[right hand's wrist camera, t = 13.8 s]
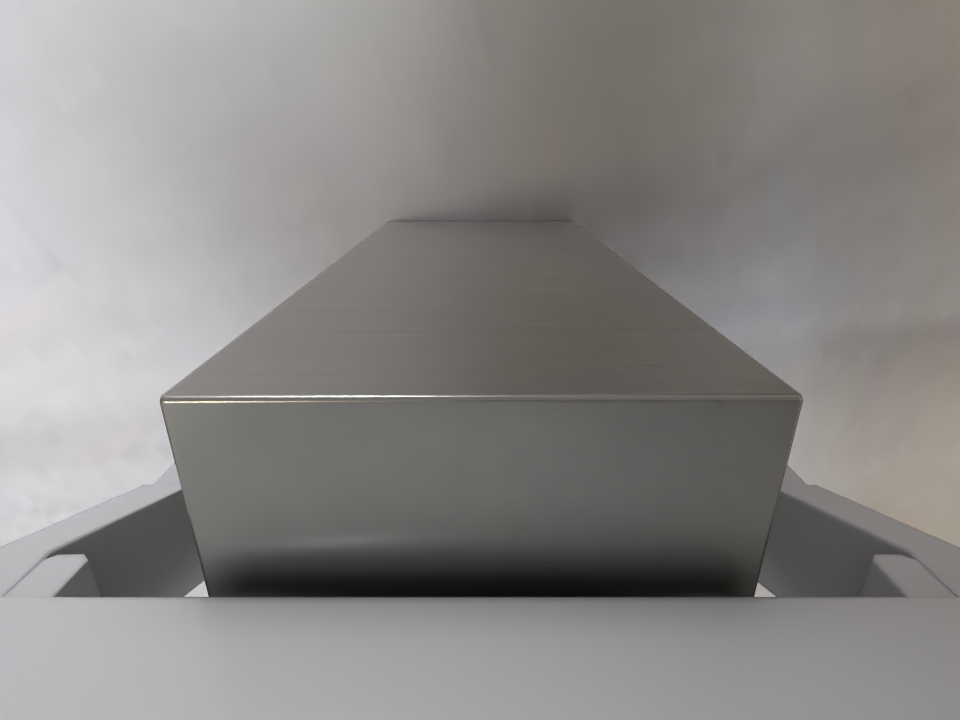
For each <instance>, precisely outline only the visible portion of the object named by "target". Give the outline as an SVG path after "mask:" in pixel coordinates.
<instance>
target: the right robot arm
mask: <svg viewBox="0 0 960 720" xmlns="http://www.w3.org/2000/svg"><path fill="white" fill-rule="evenodd" d="M203 581H204V576H203V572H202V568H201V564H200V560H199V556H198V552H197V548H196V544H195V540H194V536H193V532H192V528H191V524H190V520H189V516H188V512H187V508H186V504H185V500H184V496H183V492H182V488H181V484H180V480H179V476H178V472H177V468H176V465H175V463H174V464H173V465H172V466H171V467H170V468H169V469H168V470H167V471H166V472H165V473H164V474H163V475H162V476H161V477H160V478H159V479H158V480H157V481H156V482H155V483H154V484H153V485H143V486H141V487H138V488H136V489H134V490H131V491H129V492H127V493H124V494H122V495H120V496H118V497H115V498H113V499H111V500H108V501H106V502H104V503H101V504H99V505H97V506H95V507H92V508H90V509H88V510H85V511H83V512H81V513H78V514H76V515H74V516H72V517H69V518H67V519H65V520H62V521H60V522H58V523H55V524H53V525H51V526H49V527H46V528H44V529H42V530H39V531H37V532H35V533H32V534H30V535H28V536H26V537H23V538H21V539H19V540H16V541H14V542H12V543H9V544H7V545H5V546H3V547H0V720H960V548H959V547H957V546H955V545H952V544H950V543H948V542H946V541H943V540H941V539H939V538H936V537H934V536H932V535H929V534H927V533H925V532H923V531H920V530H918V529H916V528H913V527H911V526H909V525H907V524H904V523H902V522H900V521H897V520H895V519H893V518H890V517H888V516H886V515H884V514H881V513H879V512H877V511H874V510H872V509H870V508H868V507H865V506H863V505H861V504H858V503H856V502H854V501H851V500H849V499H847V498H845V497H842V496H840V495H838V494H835V493H833V492H831V491H829V490H826V489H824V488H822V487H819V486H817V485H807V484H806V483H805V482H804V481H803V480H802V479H801V478H800V477H799V476H798V475H797V474H796V473H795V472H794V471H793V470H792V469H791V468H790V467H789V466H788V465H787V466H786V470H785V474H784V478H783V482H782V486H781V490H780V494H779V498H778V502H777V506H776V510H775V514H774V518H773V522H772V526H771V530H770V534H769V538H768V542H767V546H766V550H765V554H764V558H763V562H762V566H761V570H760V574H759V578H758V583H760V584H761V585H762V586H764V587H765V588H766V589H767V590H769V591H770V592H771V593H772V594H774V595H775V596H776V597H184V596H185V595H186V594H188V593H189V592H190V591H191V590H193V589H194V588H195V587H197V586H198V585H199V584H200V583H202V582H203Z"/></svg>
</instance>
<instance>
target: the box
mask: <svg viewBox="0 0 960 720" xmlns="http://www.w3.org/2000/svg"><path fill="white" fill-rule="evenodd" d="M802 402H803V400H802V396H801V394H800V393H798V392H797V391H796V390H794V389H793V388H792V387H791V386H789V385H788V384H787V383H785V382H784V381H783V380H781V379H780V378H779V377H777V376H776V375H775V374H773V373H772V372H771V371H769V370H768V369H767V368H765V367H764V366H763V365H762V364H760V363H759V362H758V361H756V360H755V359H754V358H752V357H751V356H750V355H748V354H747V353H746V352H744V351H743V350H742V349H740V348H739V347H738V346H736V345H735V344H734V343H733V342H731V341H730V340H729V339H727V338H726V337H725V336H723V335H722V334H721V333H719V332H718V331H717V330H715V329H714V328H713V327H711V326H710V325H709V324H707V323H706V322H705V321H704V320H702V319H701V318H700V317H698V316H697V315H696V314H694V313H693V312H692V311H690V310H689V309H688V308H686V307H685V306H684V305H682V304H681V303H680V302H678V301H677V300H676V299H674V298H673V297H672V296H671V295H669V294H668V293H667V292H665V291H664V290H663V289H661V288H660V287H659V286H657V285H656V284H655V283H653V282H652V281H651V280H649V279H648V278H647V277H645V276H644V275H643V274H642V273H640V272H639V271H638V270H636V269H635V268H634V267H632V266H631V265H630V264H628V263H627V262H626V261H624V260H623V259H622V258H620V257H619V256H618V255H616V254H615V253H614V252H613V251H611V250H610V249H609V248H607V247H606V246H605V245H603V244H602V243H601V242H599V241H598V240H597V239H595V238H594V237H593V236H591V235H590V234H589V233H587V232H586V231H585V230H584V229H582V228H581V227H580V226H578V225H577V224H576V223H574V222H573V221H406V222H387V223H386V224H384V225H383V226H382V227H380V228H379V229H378V230H376V231H375V232H374V233H373V234H371V235H370V236H369V237H367V238H366V239H365V240H363V241H362V242H361V243H360V244H358V245H357V246H356V247H354V248H353V249H352V250H350V251H349V252H348V253H346V254H345V255H344V256H343V257H341V258H340V259H339V260H337V261H336V262H335V263H333V264H332V265H331V266H330V267H328V268H327V269H326V270H324V271H323V272H322V273H320V274H319V275H318V276H317V277H315V278H314V279H313V280H311V281H310V282H309V283H307V284H306V285H305V286H304V287H302V288H301V289H300V290H298V291H297V292H296V293H294V294H293V295H292V296H291V297H289V298H288V299H287V300H285V301H284V302H283V303H281V304H280V305H279V306H277V307H276V308H275V309H274V310H272V311H271V312H270V313H268V314H267V315H266V316H264V317H263V318H262V319H261V320H259V321H258V322H257V323H255V324H254V325H253V326H251V327H250V328H249V329H248V330H246V331H245V332H244V333H242V334H241V335H240V336H238V337H237V338H236V339H235V340H233V341H232V342H231V343H229V344H228V345H227V346H225V347H224V348H223V349H222V350H220V351H219V352H218V353H216V354H215V355H214V356H212V357H211V358H210V359H209V360H207V361H206V362H205V363H203V364H202V365H201V366H199V367H198V368H197V369H195V370H194V371H193V372H192V373H190V374H189V375H188V376H186V377H185V378H184V379H182V380H181V381H180V382H179V383H177V384H176V385H175V386H173V387H172V388H171V389H169V390H168V391H167V392H166V393H164V394H163V395H162V396H161V398H160V405H161V409H162V413H163V417H164V421H165V425H166V429H167V433H168V437H169V441H170V445H171V449H172V453H173V457H174V461H175V465H176V468H177V472H178V476H179V480H180V484H181V488H182V492H183V496H184V500H185V504H186V508H187V512H188V516H189V520H190V524H191V528H192V532H193V536H194V540H195V544H196V548H197V552H198V556H199V560H200V564H201V568H202V572H203V576H204V580H205V583H206V587H207V591H208V595H209V597H754V594H755V590H756V586H757V582H758V578H759V574H760V570H761V566H762V562H763V558H764V554H765V550H766V546H767V542H768V538H769V534H770V530H771V526H772V522H773V518H774V514H775V510H776V506H777V502H778V498H779V494H780V490H781V486H782V482H783V478H784V474H785V470H786V466H787V462H788V458H789V454H790V450H791V446H792V442H793V438H794V434H795V430H796V426H797V422H798V418H799V414H800V410H801V406H802Z"/></svg>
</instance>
